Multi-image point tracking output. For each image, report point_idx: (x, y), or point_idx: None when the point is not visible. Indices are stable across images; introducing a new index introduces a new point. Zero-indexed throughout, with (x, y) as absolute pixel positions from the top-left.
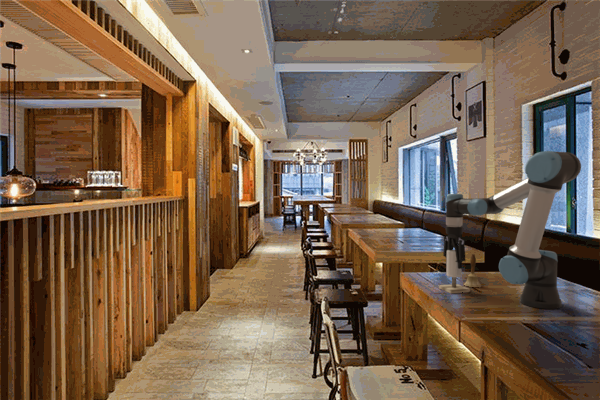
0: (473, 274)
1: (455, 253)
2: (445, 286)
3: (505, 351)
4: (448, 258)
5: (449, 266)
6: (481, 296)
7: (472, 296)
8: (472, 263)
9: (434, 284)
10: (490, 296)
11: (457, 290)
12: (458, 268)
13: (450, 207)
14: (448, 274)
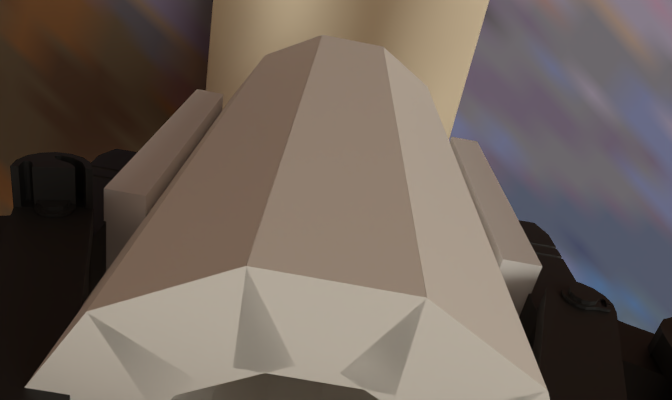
0: None
1: (57, 341)
2: (402, 21)
3: None
4: (318, 146)
5: (295, 80)
6: (27, 143)
7: (48, 63)
8: None
9: (646, 81)
10: (8, 213)
11: (212, 30)
12: (135, 152)
13: None
14: (331, 42)
